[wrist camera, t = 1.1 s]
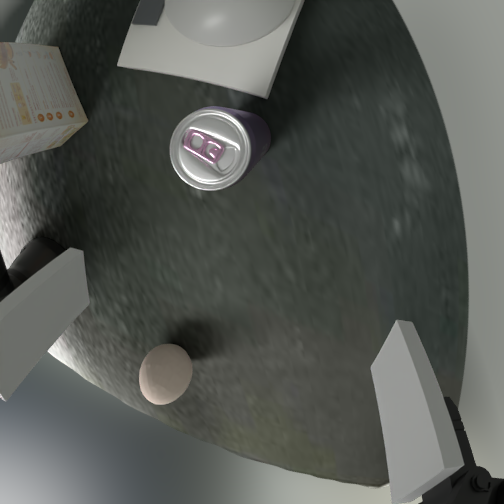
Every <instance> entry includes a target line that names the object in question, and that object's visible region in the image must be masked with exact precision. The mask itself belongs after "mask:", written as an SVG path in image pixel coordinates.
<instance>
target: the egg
mask: <svg viewBox="0 0 504 504" xmlns="http://www.w3.org/2000/svg"><path fill="white" fill-rule="evenodd" d="M191 377H192V362H191V360H190V357H189V356H188V354H187V352H186V351H185V350H184V349H183V348H181V347H180V346H178V345H175V344H162V345H159V346H157V347H155V348H154V349H152V350H151V351H150V352H149V353H148V354H147V356H146V357H145V358H144V360H143V363H142V365H141V368H140V376H139V381H140V388H141V391H142V393H143V395H144V396H145V397H146V398H147V400H149V401H150V402H152V403H154V404H162V405H164V404H168V403H170V402H172V401H174V400H176V399H177V398H178V397H179V396H181V395H182V394H183V393H184V391H185V390H186V389H187V387H188V385H189V383H190V380H191Z"/></svg>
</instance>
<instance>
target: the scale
mask: <svg viewBox="0 0 504 504" xmlns="http://www.w3.org/2000/svg"><path fill="white" fill-rule="evenodd" d="M304 1H305V0H140V2H139V5H138V7H137V10H136V12H135V15H134V17H133V20H132V22H131V25H130V28H129V31H128V33H127V36H126V39H125V42H124V45H123V48H122V51H121V54H120V57H119V60H118V64H117V66H120V67H125V68H130V69H137V70H144V71H150V72H156V73H162V74H168V75H173V76H178V77H183V78H188V79H193V80H197V81H202V82H206V83H210V84H214V85H218V86H222V87H226V88H230V89H234V90H237V91H241V92H244V93H248V94H251V95H255V96H258V97H261V98H264V99H268V97H269V94H270V91H271V88H272V85H273V83H274V80H275V77H276V74H277V72H278V69H279V66H280V63H281V61H282V58H283V55H284V53H285V50H286V47H287V45H288V42H289V39H290V37H291V34H292V31H293V29H294V26H295V24H296V21H297V18H298V16H299V13H300V11H301V8H302V6H303V3H304Z"/></svg>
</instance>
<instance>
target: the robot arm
mask: <svg viewBox="0 0 504 504" xmlns="http://www.w3.org/2000/svg"><path fill="white" fill-rule="evenodd" d="M89 304H90V300H89V294H88V287H87V280H86V272H85V263H84V254H83V251H81V250H78V249H74V248H71V247H70V248H69V249H67V250H66V251H65V250H64V249H63V248H62V247H61V246H60V245H59V244H58V243H56V242H55V241H53V240H51V239H49V238H45V237H38V238H35V239H34V240H32V241H31V242H29V243H27V244H26V245H25V246H24V247H23V249H22V250H21V252H20V254H19V255H18V256H17V258H16V259H15V260H14V262H13V263H12V265H11V266H10V268H9V269H6V266H5V263H4V260H3V257H2V254H1V251H0V398H1V399H3V400H4V401H5V402H6V401H7V400H8V399H9V397H10V396H11V395H12V393H13V392H14V391H15V390H16V388H17V387H18V386H19V385H20V383H21V382H22V381H23V379H24V378H25V377H26V376H27V374H28V373H29V372H30V371H31V369H32V368H33V367H34V366H35V365H36V363H37V362H38V361H39V360H40V359H41V357H42V356H43V355H44V354H45V353H46V352H47V350H48V349H49V348H50V347H51V346H52V345H53V344H54V342H55V341H56V340H57V339H58V338H59V337H60V336H61V334H62V333H63V332H64V331H65V330H66V329H67V328H68V327H69V325H70V324H71V323H72V322H73V321H74V320H75V319H76V318H77V317H78V316H79V314H80V313H81V312H82V311H83V310H84V309H85V308H86V307H87V306H88V305H89ZM371 372H372V377H373V382H374V386H375V391H376V397H377V402H378V407H379V413H380V418H381V424H382V430H383V436H384V443H385V449H386V456H387V464H388V471H389V480H390V489H391V499H392V504H398V503H406V502H411V501H413V500H415V499H416V498H418V497H420V496H421V495H422V499H423V501H422V502H421V503H419V504H504V479H499V478H492V477H491V475H490V473H489V472H488V471H487V470H486V469H485V468H483V467H480V466H476V463H475V461H474V457H473V454H472V450H471V447H470V444H469V441H468V438H467V435H466V431H464V426H463V423H462V421H461V417H460V414H459V411H458V409H457V407H456V405H455V404H454V403H453V401H452V400H451V399H450V397H443V395H442V393H441V390H440V387H439V385H438V382H437V379H436V377H435V374H434V372H433V369H432V367H431V364H430V362H429V359H428V357H427V355H426V352H425V350H424V348H423V345H422V343H421V341H420V338H419V336H418V334H417V332H416V329H415V327H414V325H413V323H412V322H408V321H402V320H396V322H395V324H394V326H393V328H392V330H391V332H390V333H389V335H388V337H387V339H386V341H385V343H384V345H383V346H382V348H381V350H380V352H379V354H378V355H377V357H376V359H375V361H374V362H373V364H372V366H371Z"/></svg>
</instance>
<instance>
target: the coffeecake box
mask: <svg viewBox="0 0 504 504" xmlns="http://www.w3.org/2000/svg"><path fill="white" fill-rule="evenodd" d="M87 122H88V119H87V117H86V114H85V112H84V110H83V108H82V105H81V103H80V101H79V98H78V96H77V94H76V91H75V89H74V86H73V84H72V82H71V79H70V76H69V74H68V71H67V69H66V66H65V64H64V61H63V58H62V56H61V53H60V50H59V47H54V46H46V45H37V44H26V43H10V42H0V164H1V163H4V162H7V161H10V160H13V159H16V158H20V157H23V156H26V155H30V154H33V153H37V152H40V151H44V150H48V149H52V148H56V147H59V146H61V145H63V144H64V143H65V142H66V141H67V140H68V139H69V138H70V137H71V136H72V135H73V134H74V133H75V132H77V131H78V130H79V129H80V128H81V127H83V126H84V125H85V124H86V123H87Z"/></svg>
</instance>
